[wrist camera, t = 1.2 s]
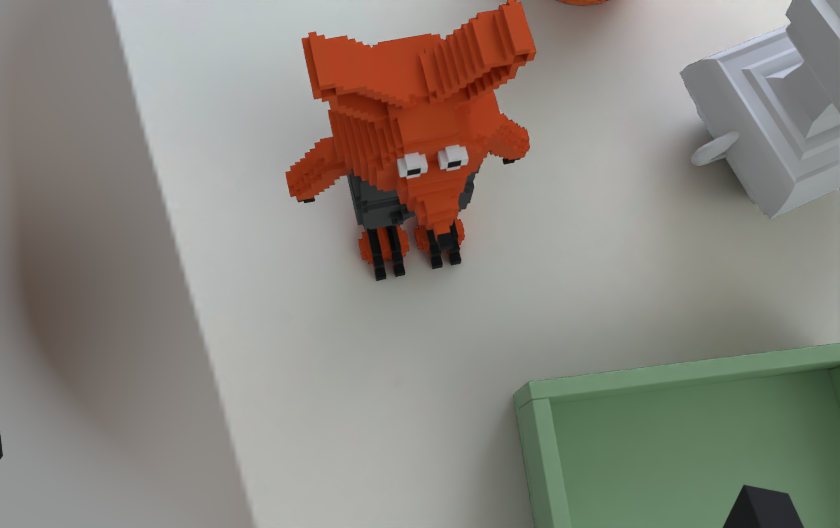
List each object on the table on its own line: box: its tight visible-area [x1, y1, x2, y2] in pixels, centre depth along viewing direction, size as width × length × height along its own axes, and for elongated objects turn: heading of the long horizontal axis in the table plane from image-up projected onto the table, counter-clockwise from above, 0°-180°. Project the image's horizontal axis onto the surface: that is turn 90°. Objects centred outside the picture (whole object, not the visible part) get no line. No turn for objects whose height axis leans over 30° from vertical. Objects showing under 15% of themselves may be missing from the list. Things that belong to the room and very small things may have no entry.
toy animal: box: [286, 0, 536, 281], centre depth 23 cm, size 8×6×12 cm
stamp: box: [680, 0, 840, 219], centre depth 27 cm, size 9×7×8 cm
